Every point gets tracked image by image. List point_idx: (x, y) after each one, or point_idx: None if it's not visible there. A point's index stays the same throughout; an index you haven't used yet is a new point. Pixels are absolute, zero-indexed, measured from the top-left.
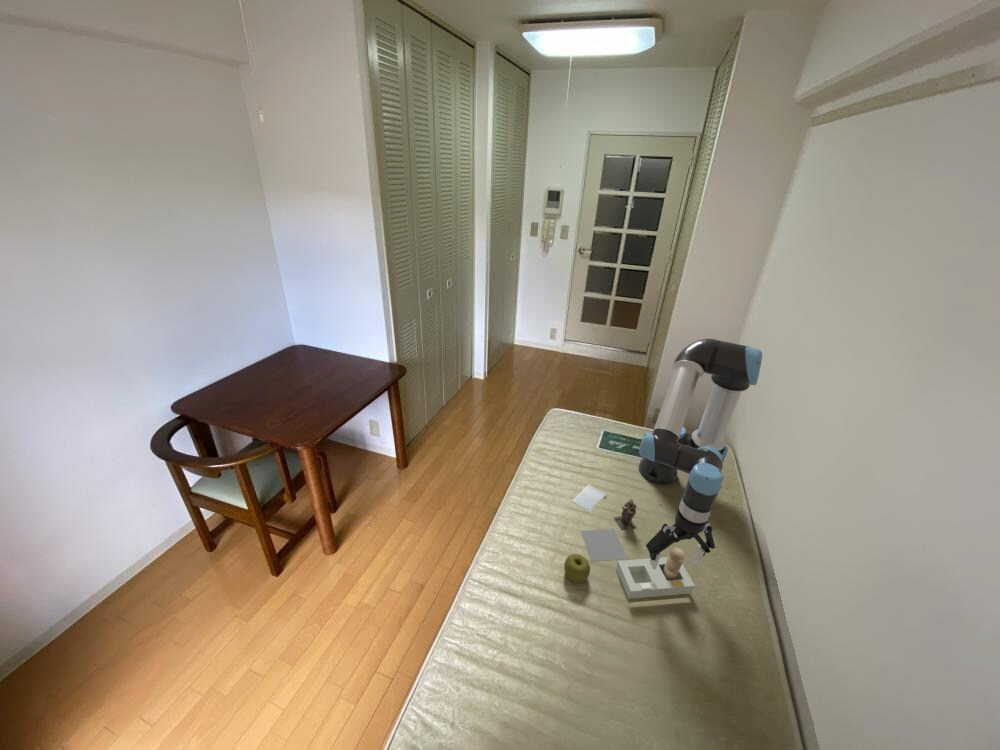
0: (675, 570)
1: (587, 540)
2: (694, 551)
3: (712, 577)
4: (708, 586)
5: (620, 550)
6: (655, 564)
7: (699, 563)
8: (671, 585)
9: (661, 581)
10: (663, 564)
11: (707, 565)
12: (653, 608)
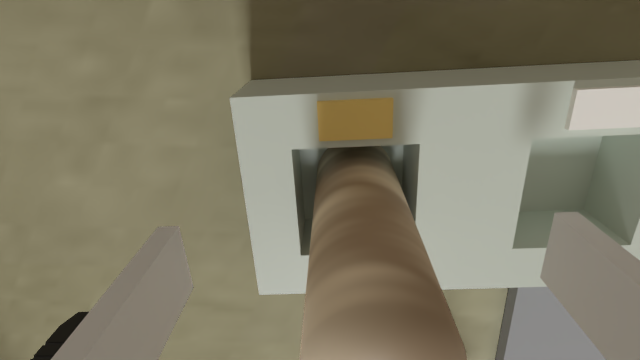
0: (375, 198)
1: None
2: (157, 357)
3: (89, 176)
4: (128, 128)
5: (527, 326)
6: (626, 251)
7: (144, 245)
8: (405, 107)
9: (463, 139)
10: None
11: (95, 238)
12: (525, 3)
